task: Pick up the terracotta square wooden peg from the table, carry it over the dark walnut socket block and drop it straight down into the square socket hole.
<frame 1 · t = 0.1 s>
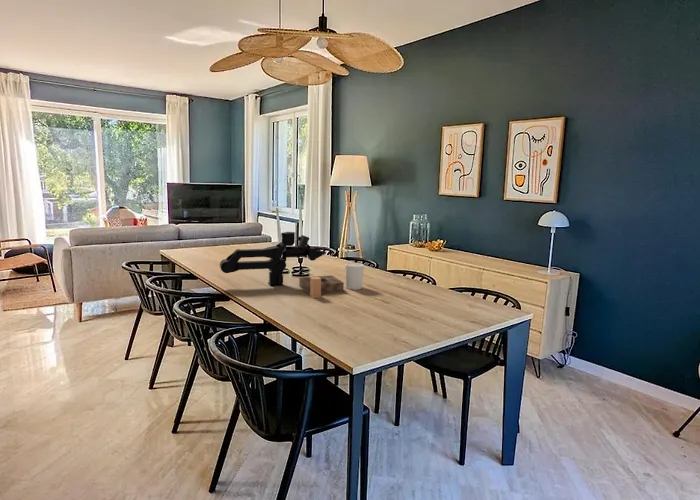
hand: (323, 251, 231), 17 cm above the table, tool horizontal, fingers open, 9 cm apart
candle holder: (353, 287, 224), on the table
peg: (315, 296, 205), on the table
socket block: (320, 288, 219), on the table
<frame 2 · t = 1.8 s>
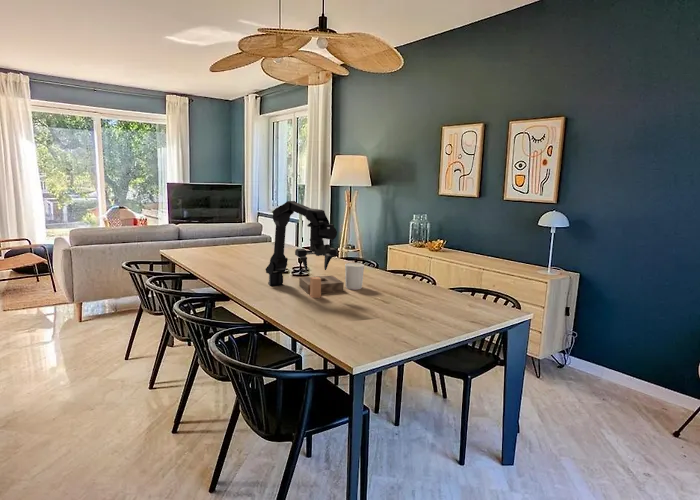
hand: (315, 270, 203), 12 cm above the table, tool pointing down, fingers open, 9 cm apart
nothing on the table moved.
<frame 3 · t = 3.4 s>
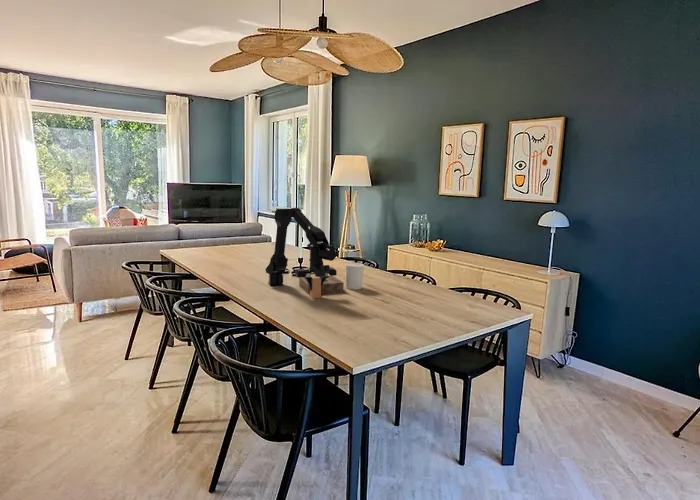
hand: (315, 290, 204), 3 cm above the table, tool pointing down, fingers closed on peg, 4 cm apart
peg: (315, 296, 205), on the table, touching gripper
everything else where it was.
when the fingers open (5 cm above the table, at t = 7.7 s): peg drops 2 cm, resting in socket block.
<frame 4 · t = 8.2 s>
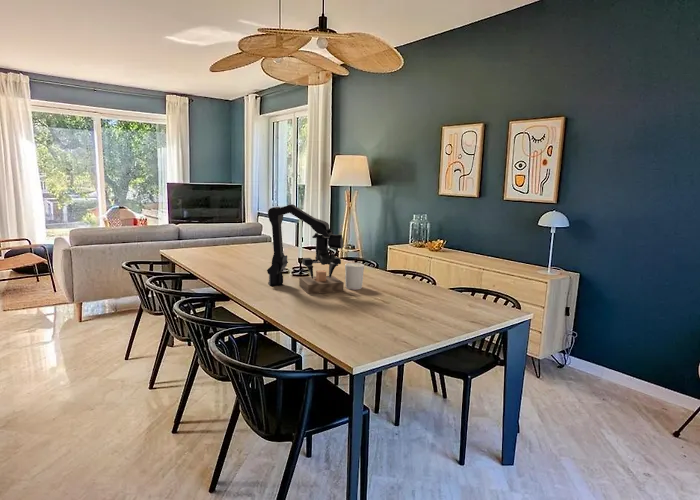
hand: (321, 278, 218), 5 cm above the table, tool pointing down, fingers open, 9 cm apart
peg: (320, 288, 219), resting in socket block
everything else where it was.
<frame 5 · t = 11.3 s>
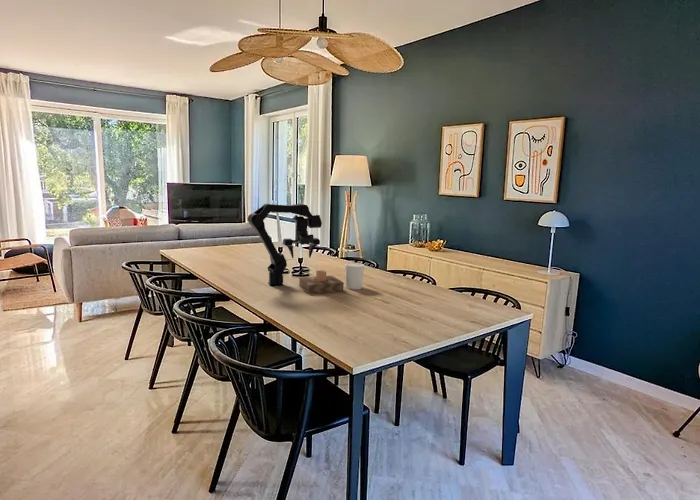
hand: (301, 257, 229), 13 cm above the table, tool pointing down, fingers open, 9 cm apart
nothing on the table moved.
at the end: peg 0.0 cm off-centre on the socket block, point 0.0 cm above the socket block's base; peg tilted 0°; the gripper is holding nothing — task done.
